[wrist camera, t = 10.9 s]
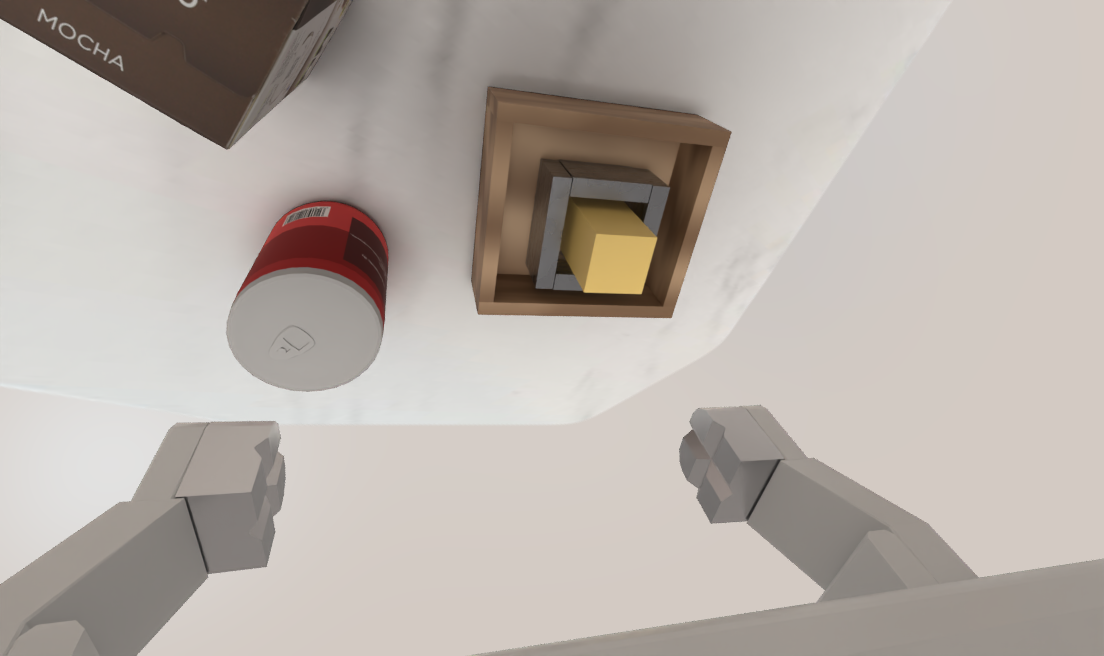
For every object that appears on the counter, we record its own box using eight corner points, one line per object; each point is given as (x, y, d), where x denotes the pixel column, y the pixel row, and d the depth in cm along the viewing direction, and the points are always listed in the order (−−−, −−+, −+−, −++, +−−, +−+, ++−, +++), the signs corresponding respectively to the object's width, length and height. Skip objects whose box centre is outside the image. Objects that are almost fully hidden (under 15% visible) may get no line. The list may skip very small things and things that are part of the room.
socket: (540, 157, 36) (553, 175, 33) (648, 168, 39) (670, 186, 35) (525, 263, 41) (535, 289, 37) (623, 268, 43) (640, 292, 40)
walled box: (487, 86, 34) (498, 102, 30) (697, 114, 38) (731, 131, 34) (471, 280, 41) (478, 314, 37) (647, 286, 45) (671, 318, 41)
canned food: (248, 263, 37) (197, 357, 28) (307, 172, 34) (272, 243, 25) (350, 315, 40) (334, 412, 32) (410, 237, 38) (410, 318, 29)
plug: (564, 189, 38) (596, 233, 32) (616, 193, 39) (657, 237, 33) (555, 240, 40) (583, 292, 34) (605, 243, 41) (641, 294, 35)
